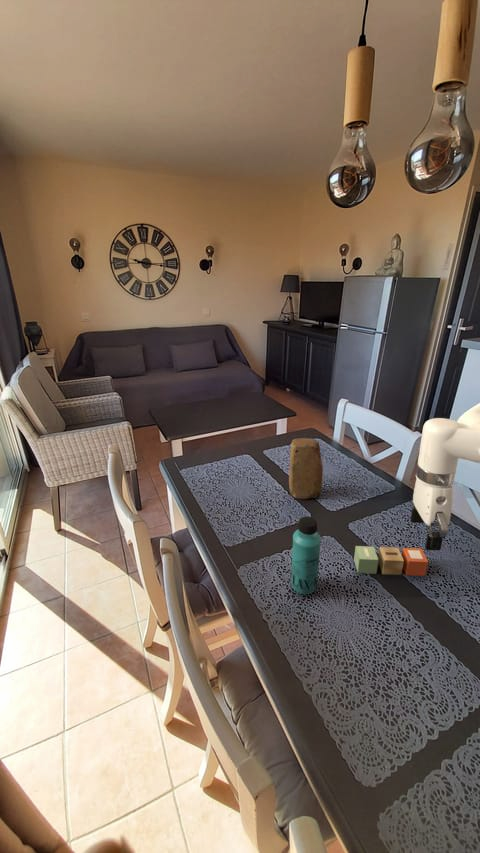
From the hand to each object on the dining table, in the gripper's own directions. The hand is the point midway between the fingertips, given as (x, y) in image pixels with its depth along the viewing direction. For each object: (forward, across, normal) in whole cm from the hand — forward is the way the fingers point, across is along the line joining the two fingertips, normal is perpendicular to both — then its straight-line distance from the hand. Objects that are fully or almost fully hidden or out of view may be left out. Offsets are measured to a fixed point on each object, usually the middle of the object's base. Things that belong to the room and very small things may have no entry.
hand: (424, 535), depth 87 cm
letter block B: (+10, 0, +13) cm, 17 cm away
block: (+10, +32, +26) cm, 43 cm away
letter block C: (+11, 0, +1) cm, 11 cm away
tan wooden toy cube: (+11, 0, +7) cm, 13 cm away
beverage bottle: (+10, -8, +29) cm, 32 cm away
